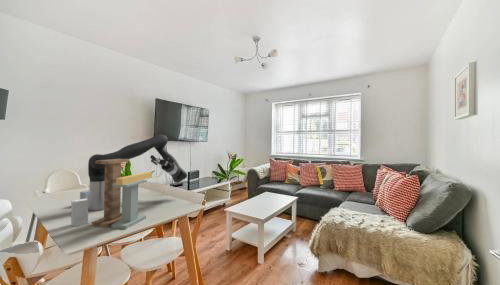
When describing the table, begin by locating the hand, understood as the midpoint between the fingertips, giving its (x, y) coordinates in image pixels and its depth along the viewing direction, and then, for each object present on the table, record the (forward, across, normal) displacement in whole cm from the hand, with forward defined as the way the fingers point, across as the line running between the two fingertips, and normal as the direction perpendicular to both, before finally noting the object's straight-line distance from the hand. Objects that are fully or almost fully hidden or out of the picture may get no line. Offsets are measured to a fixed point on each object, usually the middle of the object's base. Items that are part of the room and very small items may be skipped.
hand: (157, 156), depth 126 cm
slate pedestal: (+2, 0, +39) cm, 39 cm away
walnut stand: (+2, -10, +39) cm, 41 cm away
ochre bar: (+10, 0, +19) cm, 22 cm away
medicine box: (-16, -48, +29) cm, 59 cm away
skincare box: (+8, -22, +43) cm, 49 cm away
